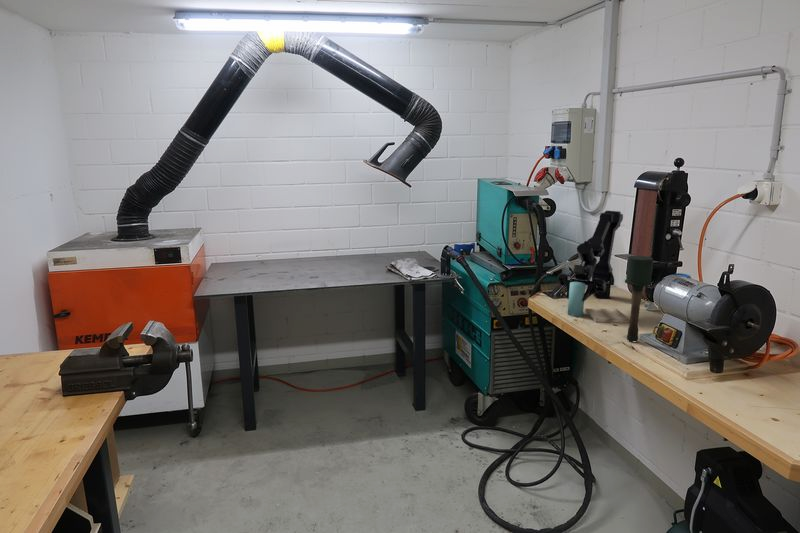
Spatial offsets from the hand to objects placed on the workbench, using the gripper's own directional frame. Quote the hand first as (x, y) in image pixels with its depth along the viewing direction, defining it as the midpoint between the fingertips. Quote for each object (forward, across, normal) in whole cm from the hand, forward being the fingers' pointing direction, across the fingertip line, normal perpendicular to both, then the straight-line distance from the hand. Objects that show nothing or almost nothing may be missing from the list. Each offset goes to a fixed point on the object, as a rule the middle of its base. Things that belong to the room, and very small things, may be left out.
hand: (575, 299), depth 215 cm
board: (0, +11, +9) cm, 14 cm away
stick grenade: (+16, +27, -7) cm, 32 cm away
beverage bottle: (-3, +35, +13) cm, 37 cm away
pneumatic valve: (-14, +23, +24) cm, 36 cm away
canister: (+4, 0, +6) cm, 7 cm away
